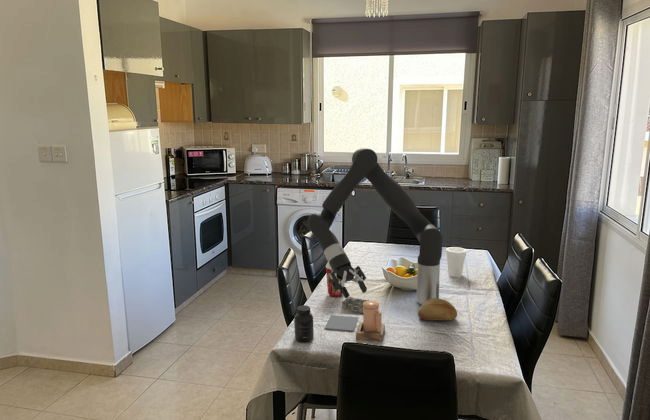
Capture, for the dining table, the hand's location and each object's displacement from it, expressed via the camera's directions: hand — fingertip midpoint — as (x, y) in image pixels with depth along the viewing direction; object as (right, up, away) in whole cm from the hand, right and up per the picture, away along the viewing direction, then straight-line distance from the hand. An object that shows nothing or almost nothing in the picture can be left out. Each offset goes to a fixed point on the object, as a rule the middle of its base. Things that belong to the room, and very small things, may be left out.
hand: (356, 294), depth 178 cm
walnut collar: (+5, -14, -3) cm, 15 cm away
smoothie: (-7, -7, +34) cm, 36 cm away
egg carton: (+1, -10, +20) cm, 23 cm away
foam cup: (+53, -1, +58) cm, 79 cm away
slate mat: (-5, -12, +6) cm, 15 cm away
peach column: (+5, -14, -3) cm, 15 cm away
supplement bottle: (-19, -15, -6) cm, 25 cm away
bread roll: (+32, -11, +9) cm, 35 cm away
